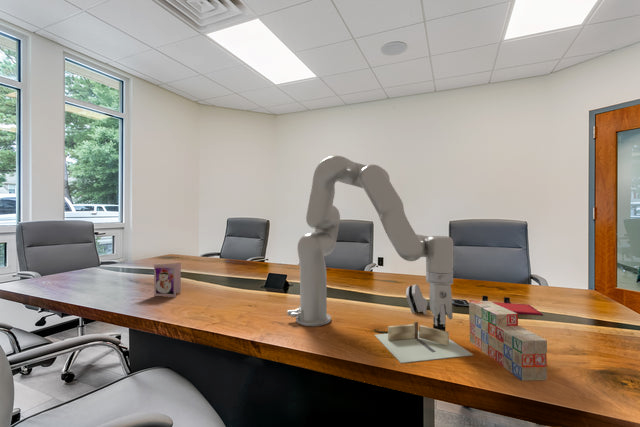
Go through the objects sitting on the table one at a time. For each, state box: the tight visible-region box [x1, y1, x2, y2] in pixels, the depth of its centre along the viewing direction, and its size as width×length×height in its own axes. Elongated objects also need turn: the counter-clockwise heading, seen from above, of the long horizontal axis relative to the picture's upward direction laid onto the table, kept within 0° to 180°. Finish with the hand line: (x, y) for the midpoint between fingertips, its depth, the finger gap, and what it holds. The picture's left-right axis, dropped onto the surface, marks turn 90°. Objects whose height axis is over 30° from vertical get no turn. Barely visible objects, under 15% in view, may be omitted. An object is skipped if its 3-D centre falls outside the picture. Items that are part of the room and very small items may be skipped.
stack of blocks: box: [468, 300, 548, 382], centre depth 78 cm, size 21×6×12 cm, turn 3°
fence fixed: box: [387, 321, 419, 341], centre depth 89 cm, size 10×1×5 cm, turn 101°
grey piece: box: [405, 284, 429, 315], centre depth 121 cm, size 17×5×10 cm, turn 157°
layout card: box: [374, 330, 474, 364], centre depth 86 cm, size 21×18×1 cm
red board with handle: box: [452, 295, 544, 316], centre depth 121 cm, size 30×3×15 cm
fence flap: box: [418, 324, 450, 346], centre depth 87 cm, size 8×1×4 cm, turn 49°
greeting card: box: [153, 262, 182, 298], centre depth 141 cm, size 11×7×15 cm, turn 80°
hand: (439, 338), depth 88 cm, fingers closed
